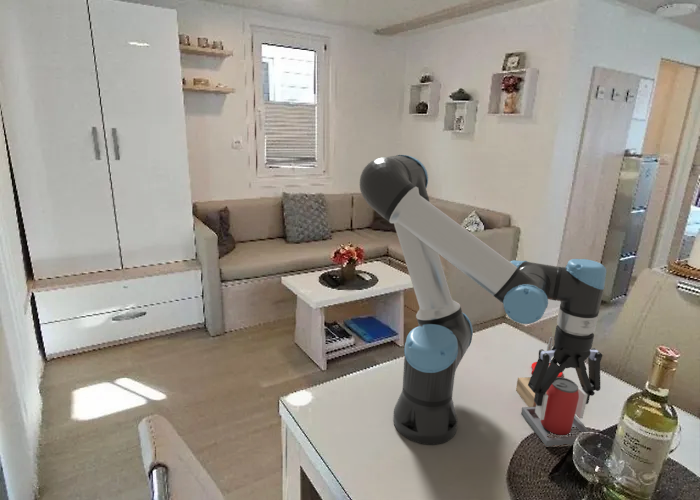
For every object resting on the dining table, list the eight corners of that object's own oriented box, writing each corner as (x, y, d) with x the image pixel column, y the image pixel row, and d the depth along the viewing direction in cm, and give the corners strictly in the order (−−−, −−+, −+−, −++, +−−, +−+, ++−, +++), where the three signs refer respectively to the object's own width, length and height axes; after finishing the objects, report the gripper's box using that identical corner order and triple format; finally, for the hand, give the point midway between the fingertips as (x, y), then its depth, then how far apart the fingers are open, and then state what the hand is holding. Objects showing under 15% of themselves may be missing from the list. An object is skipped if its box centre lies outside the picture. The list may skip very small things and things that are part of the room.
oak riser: (532, 411, 105) (534, 398, 104) (515, 390, 114) (517, 377, 113) (566, 410, 106) (568, 397, 105) (547, 389, 115) (549, 376, 113)
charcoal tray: (545, 448, 93) (546, 440, 93) (521, 414, 104) (522, 407, 104) (594, 446, 94) (596, 438, 94) (565, 412, 105) (566, 405, 105)
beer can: (535, 416, 102) (544, 374, 99) (562, 418, 102) (572, 376, 99) (547, 436, 96) (557, 392, 92) (575, 437, 96) (586, 393, 92)
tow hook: (534, 362, 129) (527, 374, 122) (541, 323, 126) (535, 333, 119) (563, 371, 125) (559, 384, 117) (571, 331, 122) (567, 342, 114)
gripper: (537, 337, 87) (522, 427, 94) (633, 336, 89) (612, 424, 95) (520, 321, 95) (507, 406, 101) (609, 320, 96) (591, 403, 103)
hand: (558, 415), depth 98 cm, fingers open, 9 cm apart
